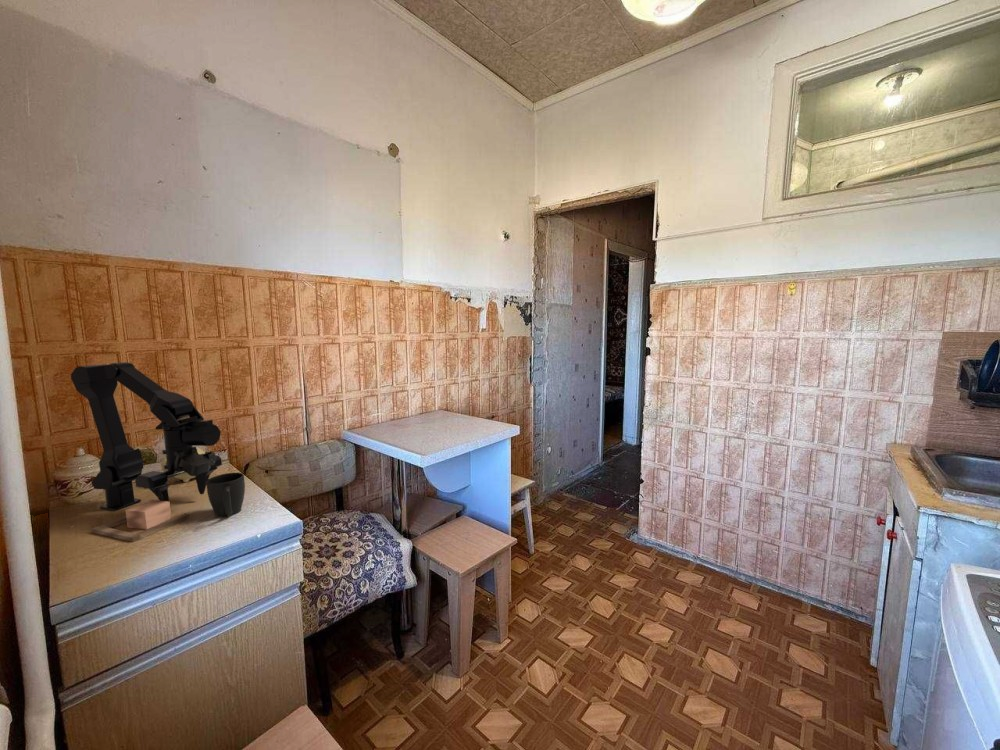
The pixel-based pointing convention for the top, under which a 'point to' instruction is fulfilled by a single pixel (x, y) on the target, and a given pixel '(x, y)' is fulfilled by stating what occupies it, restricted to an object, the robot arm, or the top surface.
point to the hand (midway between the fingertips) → (185, 500)
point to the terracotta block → (148, 514)
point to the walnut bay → (108, 531)
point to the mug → (226, 493)
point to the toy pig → (183, 476)
